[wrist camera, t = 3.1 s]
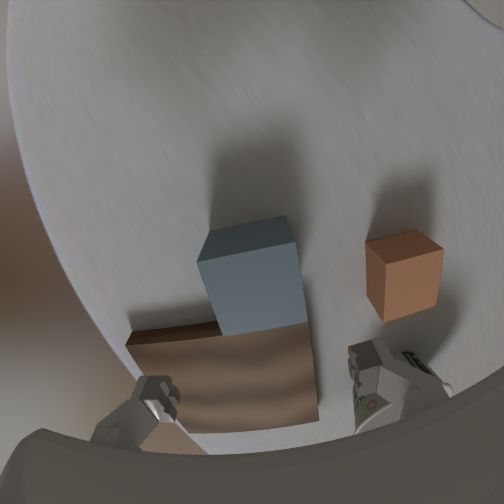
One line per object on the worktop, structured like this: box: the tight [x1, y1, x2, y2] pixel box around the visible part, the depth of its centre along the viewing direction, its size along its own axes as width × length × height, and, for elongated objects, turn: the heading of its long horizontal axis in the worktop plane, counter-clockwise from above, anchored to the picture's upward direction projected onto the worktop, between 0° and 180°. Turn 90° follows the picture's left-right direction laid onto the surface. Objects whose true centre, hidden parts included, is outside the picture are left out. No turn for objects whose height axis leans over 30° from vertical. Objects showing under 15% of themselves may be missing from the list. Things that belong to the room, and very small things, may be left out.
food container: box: [353, 352, 453, 435], centre depth 24 cm, size 12×12×6 cm
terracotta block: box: [365, 230, 444, 323], centre depth 19 cm, size 5×5×4 cm
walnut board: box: [125, 321, 319, 433], centre depth 25 cm, size 16×16×2 cm
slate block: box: [197, 216, 308, 337], centre depth 18 cm, size 6×6×5 cm
